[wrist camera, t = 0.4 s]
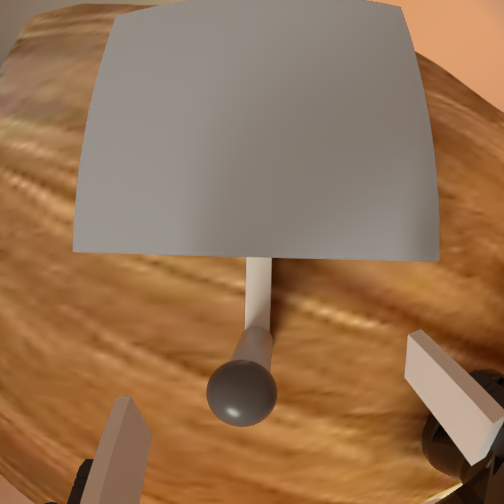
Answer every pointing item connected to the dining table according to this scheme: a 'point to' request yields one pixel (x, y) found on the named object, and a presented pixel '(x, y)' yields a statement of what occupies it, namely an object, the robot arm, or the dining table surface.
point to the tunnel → (259, 135)
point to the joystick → (248, 358)
